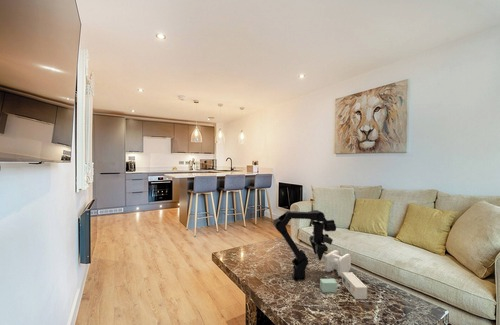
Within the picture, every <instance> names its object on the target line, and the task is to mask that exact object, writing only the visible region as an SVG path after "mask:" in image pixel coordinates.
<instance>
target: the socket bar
mask: <svg viewBox="0 0 500 325" xmlns="http://www.w3.org/2000/svg"><path fill="white" fill-rule="evenodd" d="M341 283H342V284H343V286H344V287H345V288H346V289H347V291H348V292H349V293H350V294H351V295H352V296H353V298H354V299H355V300H367V299H368V286H366V285H365V284H364V283H363V282H362V281H361V279H359V278H358V277H357V275H355V274H354V272H350V271H349V272H342V277H341Z"/></svg>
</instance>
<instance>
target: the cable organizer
mask: <svg viewBox="0 0 500 325" xmlns="http://www.w3.org/2000/svg"><path fill="white" fill-rule="evenodd" d="M351 257H352V256H351V253H346V254H344V255H342V256H341V255H339V250H337V249H334V250H332V251H330V252H328V253H326V254H325V256H324V271H325V272H326V273H330V272H331V271H332V272H334V270H335V271H336V273H337V275H338V276H339V277H341V278H342V272H350V271H351V267H352V266H351V264H352V263H351V262H352V261H351V259H352V258H351Z"/></svg>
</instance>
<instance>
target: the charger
mask: <svg viewBox="0 0 500 325" xmlns="http://www.w3.org/2000/svg"><path fill="white" fill-rule="evenodd" d="M341 287H342V285H341V284H340V283H338V282H337V280H336V279H335V278H319V289H320V291H321V292H322V293H338V288H341Z"/></svg>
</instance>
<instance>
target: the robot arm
mask: <svg viewBox="0 0 500 325" xmlns="http://www.w3.org/2000/svg"><path fill="white" fill-rule="evenodd" d="M325 216H326V215H325V213H324V212H322V211H320V210H318V209H316V210H310V211H291V210H287V211H285V212H284V213H283V214H281V215H280V216H278V217H277V218H276V219H274V220H273V222H272V224H273V227H274V229H275V230H277V231H278V233H280V234H281V236H282V237H283V239H284V240H285V242H286V243H287V245H288V247H289V248H290V250H291V251H292V253H293V255H294V259H292V261H291V263H292V265H293V266H292V279H293V280H294V281H306V268H307V267H308V265H309V257H308V256H307V255H306V252H304V251H303V249H299V248H298V246H297V244H296V243H295V242H294V240H293V238H292V237H291V235H290V234H289V232H288V229H287V225H288V224H289V222H290V221H291V220H292V219H293V220H294V219H296V220H298V219H299V220H311V221H310V222H309V224H310V225H312V226H313V229H312V230H313V231H312V235H310V236H309V237H308V238H309V239H308V240H309V243H310V245H311V247H312V250H313V253H314V255H317V258H318V260H319V261H322V259H323V256H324V253H326V252H328V251H329V247H328V246H327V245H326V244H328V245H329V246H331V245H332V244H333V242H334V239H332V238H331V237H330V236H329V234H328V233H324V232H336V231H337V225H336V222H335V220H334V219H329V220H328V219H327V218H326V217H325ZM325 243H326V244H325Z"/></svg>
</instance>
